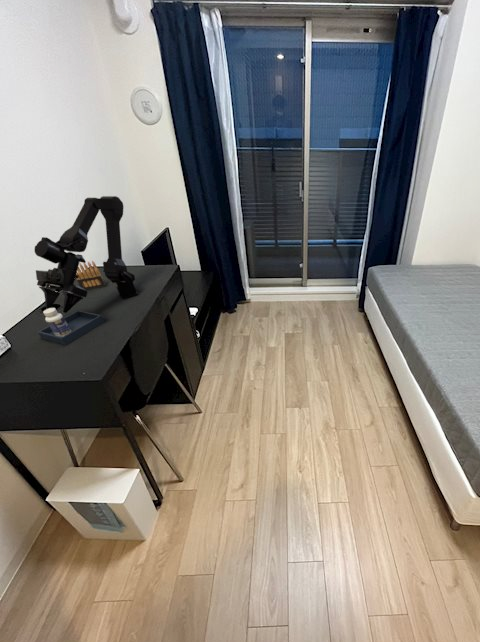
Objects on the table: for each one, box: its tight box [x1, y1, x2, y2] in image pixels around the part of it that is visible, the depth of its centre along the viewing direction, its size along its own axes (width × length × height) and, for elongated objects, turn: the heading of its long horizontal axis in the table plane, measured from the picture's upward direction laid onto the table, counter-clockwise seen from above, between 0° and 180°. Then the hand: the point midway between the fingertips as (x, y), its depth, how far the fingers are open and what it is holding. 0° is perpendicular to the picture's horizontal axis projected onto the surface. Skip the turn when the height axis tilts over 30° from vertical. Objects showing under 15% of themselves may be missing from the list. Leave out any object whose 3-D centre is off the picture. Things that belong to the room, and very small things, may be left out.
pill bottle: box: [42, 307, 71, 337], centre depth 120 cm, size 5×5×10 cm
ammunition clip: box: [75, 260, 107, 291], centre depth 152 cm, size 11×2×12 cm, turn 109°
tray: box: [37, 309, 105, 346], centre depth 125 cm, size 17×13×3 cm
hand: (56, 310), depth 119 cm, fingers open, 9 cm apart
